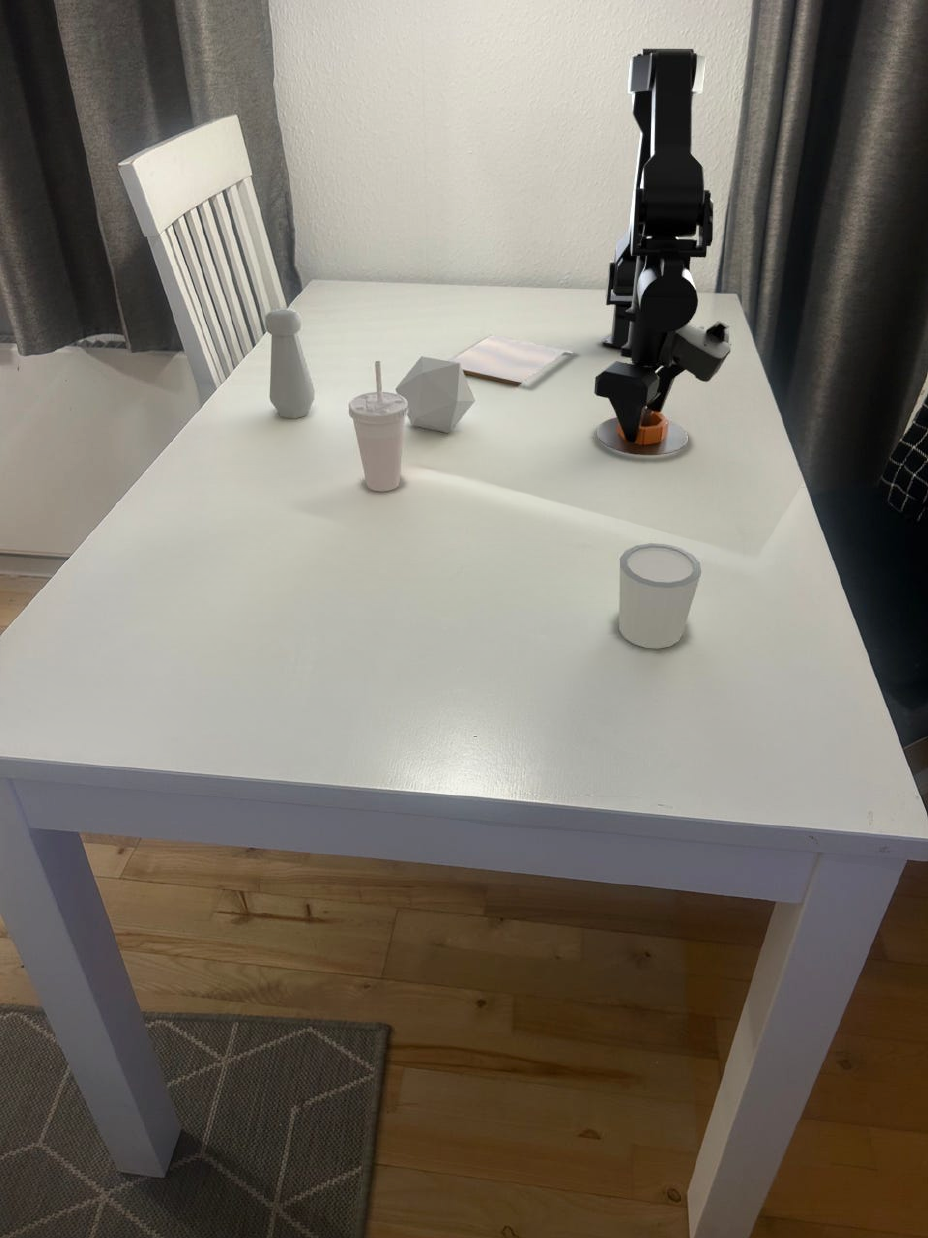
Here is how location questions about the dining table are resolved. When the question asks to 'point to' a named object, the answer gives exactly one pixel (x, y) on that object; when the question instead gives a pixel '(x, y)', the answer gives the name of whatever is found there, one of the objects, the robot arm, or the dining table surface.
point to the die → (436, 394)
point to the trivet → (506, 359)
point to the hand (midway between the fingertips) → (642, 429)
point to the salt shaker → (288, 366)
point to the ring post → (669, 444)
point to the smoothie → (380, 434)
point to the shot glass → (656, 593)
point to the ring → (651, 430)
